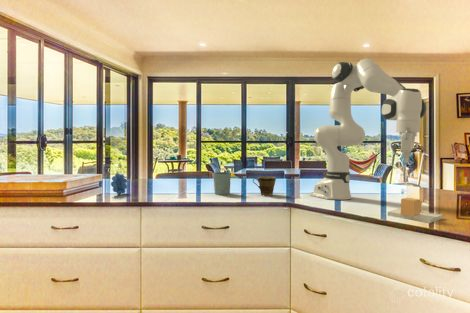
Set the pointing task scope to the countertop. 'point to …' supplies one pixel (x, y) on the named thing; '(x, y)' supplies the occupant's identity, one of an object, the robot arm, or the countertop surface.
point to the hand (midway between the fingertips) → (406, 161)
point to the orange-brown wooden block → (410, 206)
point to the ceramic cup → (266, 185)
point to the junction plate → (422, 217)
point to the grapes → (119, 183)
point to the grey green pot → (222, 183)
